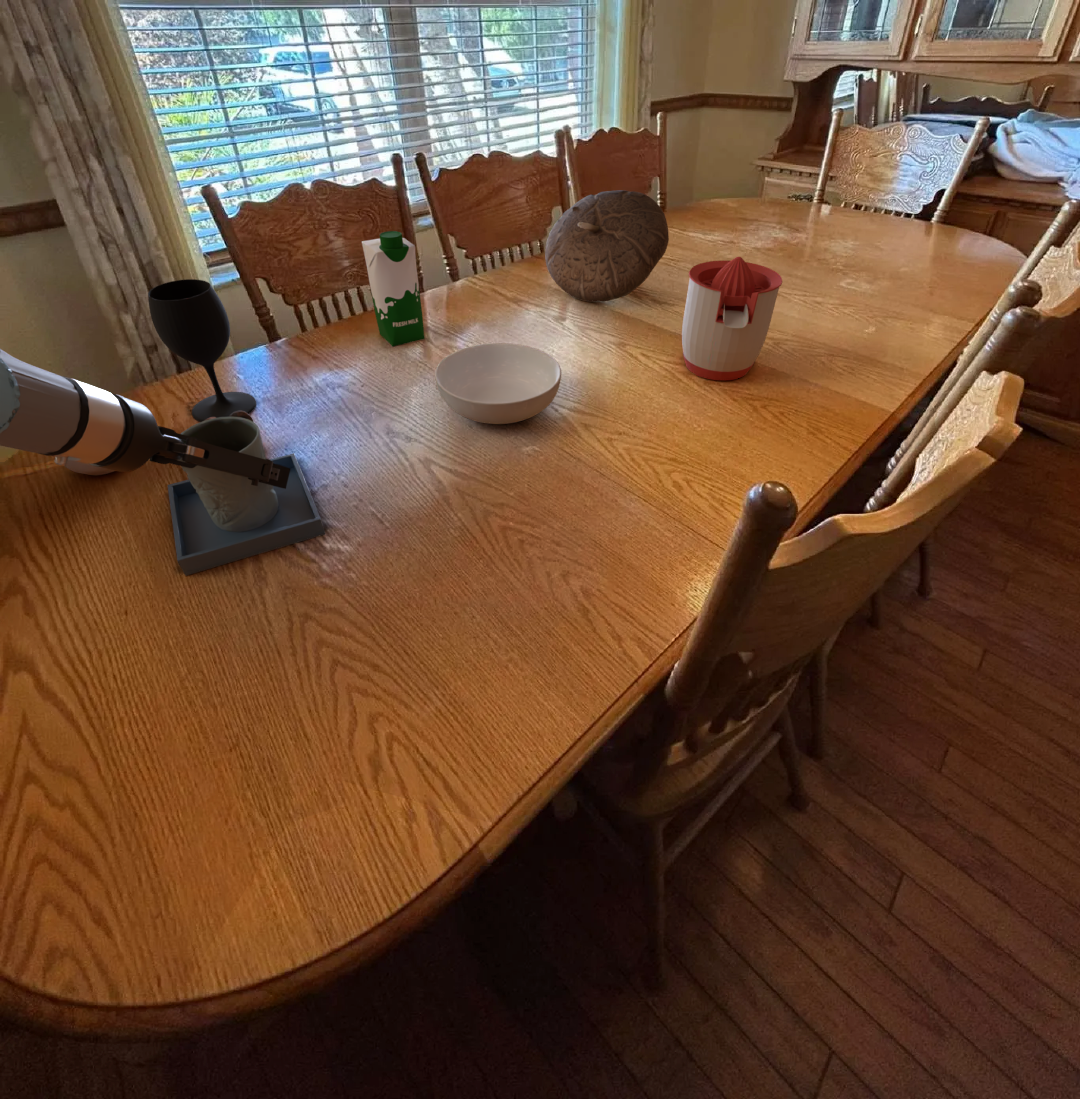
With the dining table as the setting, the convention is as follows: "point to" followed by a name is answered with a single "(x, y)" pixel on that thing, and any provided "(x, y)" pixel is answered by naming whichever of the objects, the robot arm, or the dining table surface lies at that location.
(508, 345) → the serving bowl
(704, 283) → the citrus juicer
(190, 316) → the wine glass
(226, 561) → the dark gray rectangular tray
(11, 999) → the dining table surface
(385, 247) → the milk carton
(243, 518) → the gray ceramic cup
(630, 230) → the brown fungus
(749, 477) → the dining table surface
